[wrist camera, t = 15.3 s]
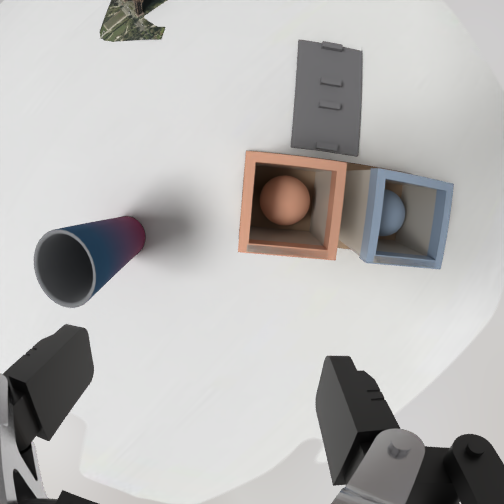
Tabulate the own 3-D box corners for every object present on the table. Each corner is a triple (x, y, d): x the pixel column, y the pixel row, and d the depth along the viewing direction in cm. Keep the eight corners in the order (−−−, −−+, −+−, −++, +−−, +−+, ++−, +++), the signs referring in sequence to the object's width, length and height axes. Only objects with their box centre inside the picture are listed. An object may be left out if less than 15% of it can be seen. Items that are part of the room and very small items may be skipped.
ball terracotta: (261, 173, 34) (262, 172, 29) (308, 178, 34) (316, 178, 29) (257, 219, 35) (257, 226, 30) (303, 223, 35) (310, 231, 30)
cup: (114, 200, 36) (43, 215, 22) (160, 223, 37) (106, 252, 22) (97, 247, 38) (28, 283, 23) (140, 271, 38) (84, 321, 24)
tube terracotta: (248, 158, 34) (246, 151, 24) (322, 166, 34) (347, 162, 24) (242, 231, 36) (237, 252, 26) (314, 238, 36) (335, 260, 26)
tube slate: (345, 169, 34) (378, 168, 24) (408, 180, 34) (453, 184, 24) (337, 240, 36) (365, 263, 26) (399, 246, 36) (440, 269, 26)
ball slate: (356, 184, 34) (372, 187, 29) (396, 190, 34) (416, 194, 29) (351, 228, 36) (365, 238, 31) (390, 233, 36) (408, 243, 31)
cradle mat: (298, 40, 31) (299, 36, 30) (361, 51, 31) (364, 48, 30) (290, 147, 35) (292, 146, 33) (357, 156, 35) (360, 155, 34)
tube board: (246, 151, 35) (246, 150, 34) (407, 173, 35) (411, 173, 34) (239, 237, 37) (238, 239, 36) (396, 251, 37) (400, 254, 36)
